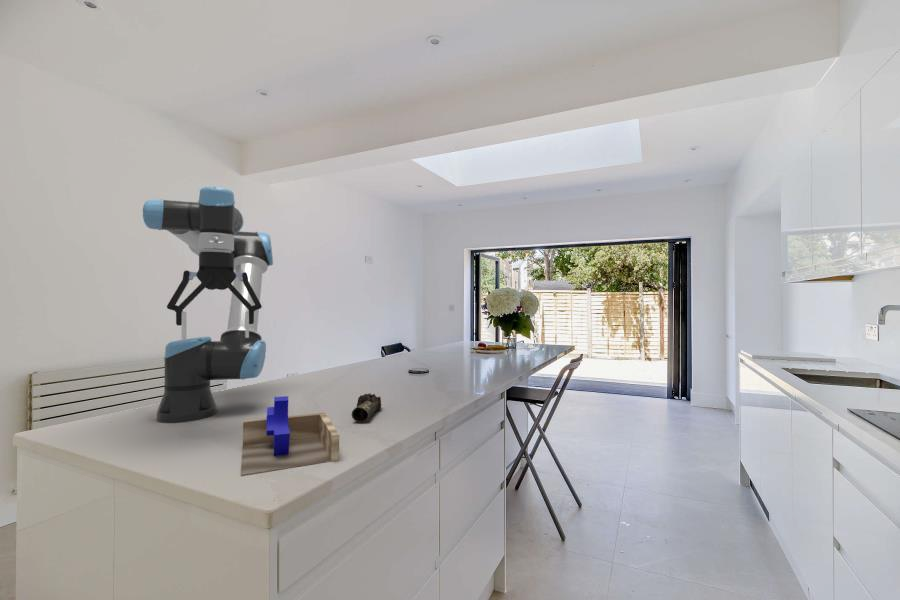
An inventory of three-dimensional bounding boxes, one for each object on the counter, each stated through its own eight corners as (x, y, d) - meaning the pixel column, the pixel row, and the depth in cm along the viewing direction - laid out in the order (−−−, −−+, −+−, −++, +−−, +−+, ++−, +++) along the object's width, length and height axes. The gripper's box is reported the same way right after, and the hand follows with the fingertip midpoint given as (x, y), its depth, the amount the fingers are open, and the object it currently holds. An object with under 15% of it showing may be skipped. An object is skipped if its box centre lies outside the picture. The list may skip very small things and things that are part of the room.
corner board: (242, 446, 99) (243, 420, 99) (324, 436, 107) (324, 412, 107) (240, 477, 81) (241, 446, 81) (339, 463, 89) (339, 434, 89)
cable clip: (266, 417, 100) (267, 397, 98) (287, 415, 102) (288, 396, 100) (266, 456, 91) (266, 435, 88) (288, 453, 92) (289, 433, 90)
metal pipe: (368, 423, 116) (369, 403, 116) (344, 422, 116) (345, 401, 117) (383, 410, 133) (384, 392, 134) (362, 409, 134) (363, 391, 134)
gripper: (152, 247, 95) (152, 342, 95) (272, 253, 106) (272, 337, 107) (157, 250, 102) (157, 338, 102) (270, 255, 113) (270, 334, 113)
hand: (216, 338), depth 104 cm, fingers open, 13 cm apart
